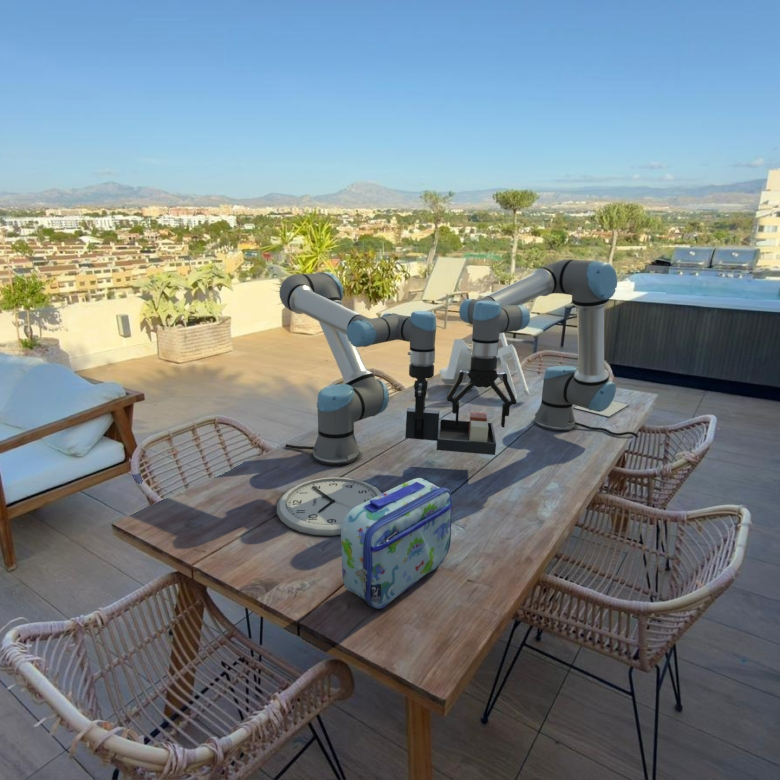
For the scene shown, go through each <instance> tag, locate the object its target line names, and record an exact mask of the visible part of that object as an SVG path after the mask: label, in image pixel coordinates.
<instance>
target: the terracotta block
mask: <svg viewBox="0 0 780 780" xmlns="http://www.w3.org/2000/svg"><path fill="white" fill-rule="evenodd" d="M469 413H470V414H469V420H468V421H469V436H470V425H471V421H483V422H488V417H487V412H481V411H480V412H479V411H470V412H469Z"/></svg>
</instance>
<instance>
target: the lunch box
mask: <svg viewBox="0 0 780 780" xmlns="http://www.w3.org/2000/svg"><path fill="white" fill-rule="evenodd" d="M451 539H452V494H451V491H450V490H449V488H446V487H439V486H437V485H435V484H434V483H432V482H430V481H428V480H426V479H424V478H421V477H416V478H413V479H410V480H408V481H405V482H403V483H402V484H398V485H397V486H395V487H392V488H390V489H389V490H386V491H384V492H382V494H380V495H378V496H376V497H374V498H372V499H370V500H368V501H366V502H364V503H362V504H360V505H358V506H356V507H354V508H353V509H351V510H350V511H349V512H348V514H347V515H346V517H345V518H344V520H343V523H342V528H341V535H340V546H341V569H342V570H341V571H342V582H343V585H344V588H345V589H346V590H347V591H349V592H351V593H353V594H355V595H356V596H358V597H359V598H361V599H362V600H364V601H365V602H366V603H367V605H368V606H370V607H372V608H374V609H378V610H379V609H380V610H381V609H383V608H384V607H387V605H389V604H390V603H391V602H392V601H393V600H395V599H396V598H397V597H399V596H400V595H402V594H403V593H404V592H405V591H407V590H408V589H409V588H411V587H412V586H413V585H415V584H416V583H418V581H419V580H420V579H421V578H423V577H425V576H427V575H428V574H429V573H431V572H432V571H434V570H435V569H437V568H438V567H439V566H441V564H442V563H443V562H444V561H445V559H446V557H447V556H448V554H449V550H450V547H451V541H452V540H451Z"/></svg>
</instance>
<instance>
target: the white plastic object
mask: <svg viewBox="0 0 780 780" xmlns="http://www.w3.org/2000/svg"><path fill="white" fill-rule="evenodd" d="M499 339H500V342H501V345H502V347H500V348H498V355H497V356H496V357H497V368H499V367H500V366H502V370H503V372H506V373H507V381H508V383H509V385H510V388H511V390H512V392H513V394H514V397H515V399H516V400H517V392H516V391H517V390H516V388H515V385H514V381H513V378H512V375H511V371H510V369H509V365H508V361H510V360H513V363H514V366H515V369H516V372H517V376H518V380H519V382H520V385H521V389H522V391H523V393H524V395H525V396H526V397H528V396H531V395H530V390H529V388H528V387H529V386H528V384H527V381H526V378H525V375H524V371H523V369H522V368H523V367H522V366H521V362H520V359H519V355H518V352H517V349H516V347H515V346H514V345H513V343H511V344H508V341H507V337H506V334H505V333H499ZM471 348H472V346H469V345H468V343H466V342H465V340H464V339H463V338H460V339H458V338H454V340H453V344H452V349H451V353H450V357H449V362H448V366H446V367H444V368H442V369H440V370H439V371H438V372H439V376H440V381H442V383H443V384H444V385H445V386H449V385H454V383H455V382H456V380H457V378H458V376H459V371H460V370H463V371H465V372H469V371H470V364H471V356H472V354H471ZM469 381H470V378H469V376H466V378H465V379H463V380H462V382H461V384H468V382H469Z"/></svg>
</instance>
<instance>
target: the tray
mask: <svg viewBox="0 0 780 780" xmlns="http://www.w3.org/2000/svg"><path fill="white" fill-rule="evenodd" d="M440 413H441V412H440V410H439V409H426V408H425V409H424V413H423V417H424V427H423V439H420V440H423V441H435V442H436V451H444V452H452V453H453V452H454V453H455V452H456V453H467V454H468V453H469V454H479V455H489V456H496V452H497V451H496V450H497V440H496V435H495V430H494V424H493V422H488V437H487V442H476V441H469V421H470V420H461V419H460V420H459V419H458V425H455V421H456V419H446V418H440ZM405 415H406V416H405V418H406V420H405V436H404V437H405V439H410V440H416V439H415V438H414V430H415V419H413V417H415V408H412V407H408V408H407V409H406V414H405Z"/></svg>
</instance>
